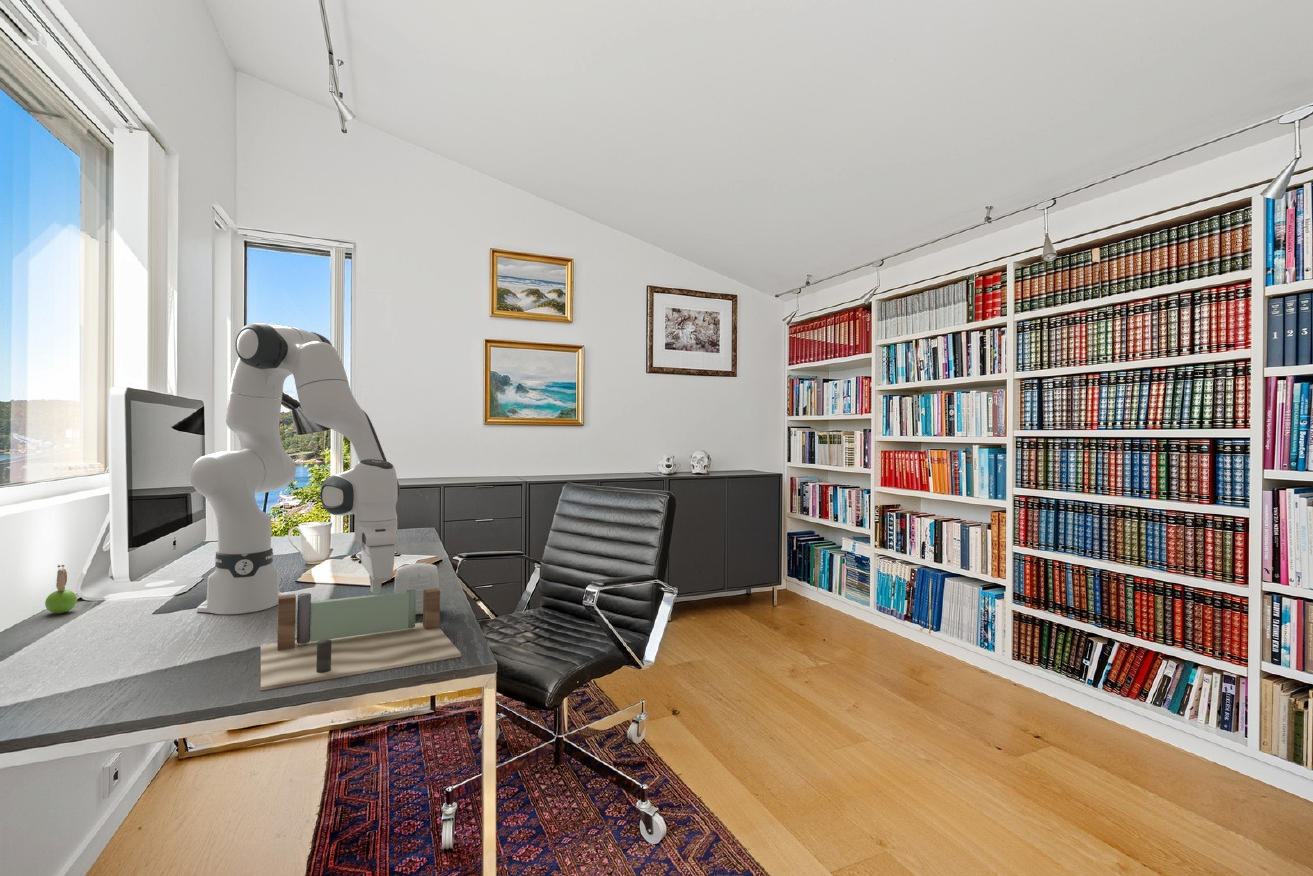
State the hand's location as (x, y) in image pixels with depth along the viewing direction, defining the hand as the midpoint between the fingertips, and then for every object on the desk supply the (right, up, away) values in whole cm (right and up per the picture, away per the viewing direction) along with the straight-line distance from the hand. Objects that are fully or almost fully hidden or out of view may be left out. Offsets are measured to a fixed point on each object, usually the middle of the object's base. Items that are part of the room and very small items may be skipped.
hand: (375, 592), depth 141 cm
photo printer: (+4, -9, +14) cm, 17 cm away
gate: (-1, -7, -6) cm, 10 cm away
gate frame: (+3, -9, -13) cm, 16 cm away
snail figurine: (-76, -6, +5) cm, 77 cm away
